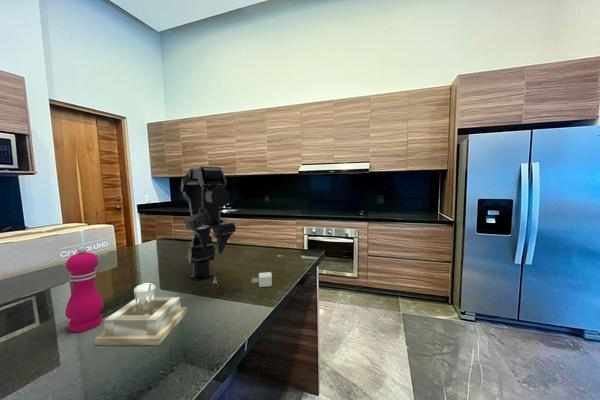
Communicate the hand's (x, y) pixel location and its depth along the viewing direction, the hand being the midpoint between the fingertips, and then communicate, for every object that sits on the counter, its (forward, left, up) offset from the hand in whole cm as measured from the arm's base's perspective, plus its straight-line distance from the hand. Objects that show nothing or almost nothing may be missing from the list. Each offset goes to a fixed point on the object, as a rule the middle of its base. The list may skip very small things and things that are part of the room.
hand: (212, 251), depth 83 cm
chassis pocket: (+7, -23, -13) cm, 27 cm away
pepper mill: (-6, -32, -13) cm, 35 cm away
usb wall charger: (+10, +12, -13) cm, 21 cm away
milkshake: (+7, -23, -12) cm, 27 cm away
